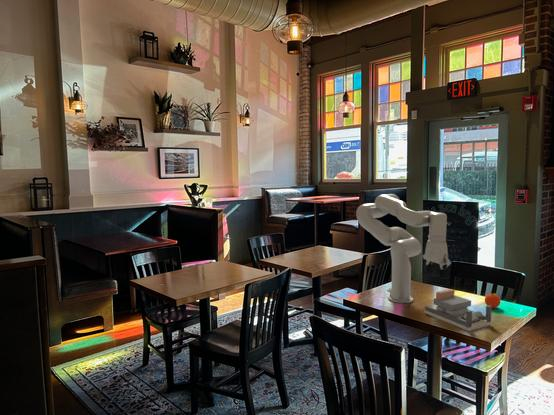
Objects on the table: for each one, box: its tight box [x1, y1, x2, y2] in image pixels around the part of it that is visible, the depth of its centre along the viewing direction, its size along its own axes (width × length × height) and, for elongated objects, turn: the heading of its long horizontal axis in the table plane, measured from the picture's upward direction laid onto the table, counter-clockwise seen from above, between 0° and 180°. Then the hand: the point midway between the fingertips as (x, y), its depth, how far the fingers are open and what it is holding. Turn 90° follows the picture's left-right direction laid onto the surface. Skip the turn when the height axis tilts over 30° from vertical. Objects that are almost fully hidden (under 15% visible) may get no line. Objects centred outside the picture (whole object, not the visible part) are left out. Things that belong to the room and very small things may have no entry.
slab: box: [432, 288, 472, 311], centre depth 190 cm, size 10×13×6 cm
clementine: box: [484, 293, 501, 309], centre depth 203 cm, size 8×7×7 cm
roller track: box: [424, 305, 493, 332], centre depth 188 cm, size 24×15×8 cm, turn 28°
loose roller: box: [461, 310, 484, 322], centre depth 181 cm, size 4×9×4 cm, turn 117°
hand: (435, 274), depth 198 cm, fingers open, 6 cm apart
